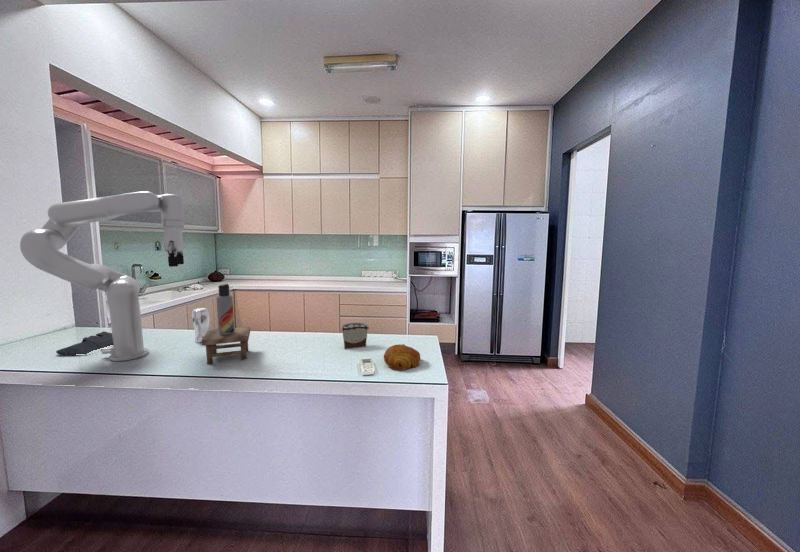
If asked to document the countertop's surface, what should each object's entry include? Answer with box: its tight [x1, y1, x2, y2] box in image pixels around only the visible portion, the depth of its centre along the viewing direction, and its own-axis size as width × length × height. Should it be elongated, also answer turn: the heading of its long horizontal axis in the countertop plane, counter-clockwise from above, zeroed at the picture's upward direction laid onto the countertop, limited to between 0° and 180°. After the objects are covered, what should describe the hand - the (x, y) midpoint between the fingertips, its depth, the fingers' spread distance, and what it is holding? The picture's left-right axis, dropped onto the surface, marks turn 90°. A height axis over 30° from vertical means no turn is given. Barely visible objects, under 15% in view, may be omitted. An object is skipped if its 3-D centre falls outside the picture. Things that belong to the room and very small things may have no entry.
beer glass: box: [191, 307, 210, 344], centre depth 156 cm, size 7×7×15 cm
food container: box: [340, 322, 370, 350], centre depth 151 cm, size 12×6×10 cm, turn 108°
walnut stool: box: [201, 326, 251, 365], centre depth 136 cm, size 16×14×10 cm
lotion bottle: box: [216, 283, 235, 335], centre depth 134 cm, size 6×6×20 cm
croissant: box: [383, 344, 421, 371], centre depth 131 cm, size 14×16×8 cm
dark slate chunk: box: [56, 330, 113, 356], centre depth 147 cm, size 15×22×5 cm
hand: (176, 265), depth 143 cm, fingers open, 9 cm apart
